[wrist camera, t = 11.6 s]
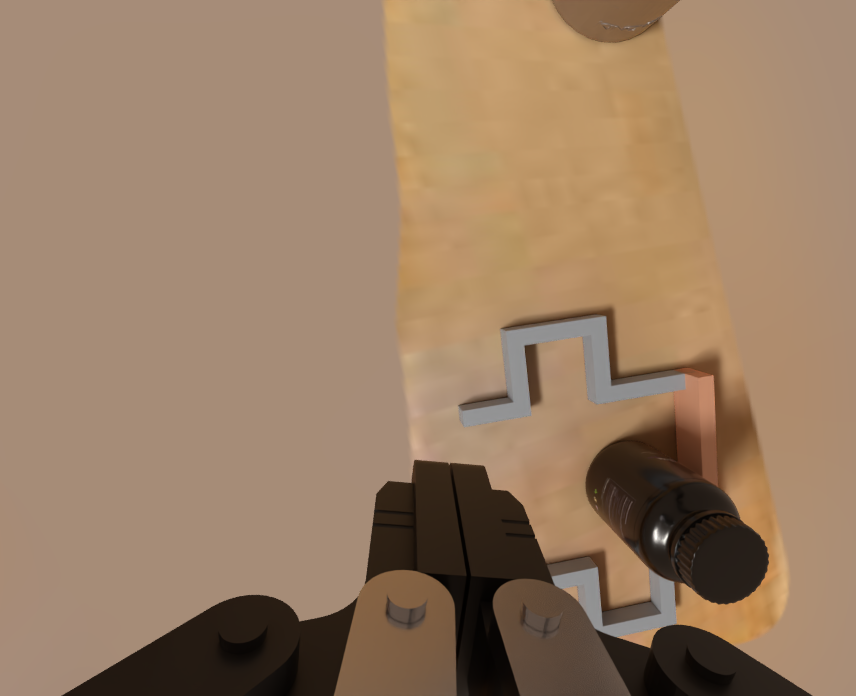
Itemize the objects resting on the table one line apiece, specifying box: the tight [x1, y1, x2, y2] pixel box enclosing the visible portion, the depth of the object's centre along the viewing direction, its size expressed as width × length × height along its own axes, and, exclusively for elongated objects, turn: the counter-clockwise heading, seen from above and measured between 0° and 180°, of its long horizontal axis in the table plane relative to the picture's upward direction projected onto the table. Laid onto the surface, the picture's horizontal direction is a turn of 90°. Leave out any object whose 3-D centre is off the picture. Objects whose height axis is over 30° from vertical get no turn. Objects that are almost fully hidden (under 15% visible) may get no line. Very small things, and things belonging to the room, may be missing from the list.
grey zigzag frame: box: [458, 314, 718, 637], centre depth 37 cm, size 26×18×3 cm
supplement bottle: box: [586, 441, 769, 604], centre depth 33 cm, size 7×7×12 cm
